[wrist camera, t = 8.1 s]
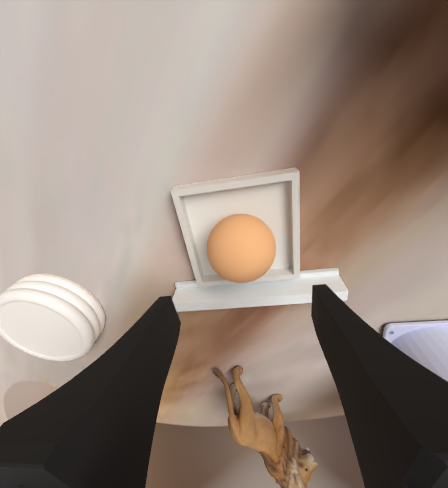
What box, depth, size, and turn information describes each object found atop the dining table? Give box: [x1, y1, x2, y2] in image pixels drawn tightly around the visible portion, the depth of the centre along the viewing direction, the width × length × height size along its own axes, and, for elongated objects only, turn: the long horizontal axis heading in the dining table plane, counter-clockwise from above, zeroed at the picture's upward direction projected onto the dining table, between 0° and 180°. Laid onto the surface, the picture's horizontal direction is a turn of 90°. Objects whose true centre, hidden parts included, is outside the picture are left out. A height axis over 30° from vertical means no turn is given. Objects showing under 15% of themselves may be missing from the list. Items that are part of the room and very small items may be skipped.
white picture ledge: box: [172, 268, 348, 312], centre depth 21 cm, size 2×15×2 cm, turn 100°
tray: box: [171, 168, 300, 287], centre depth 18 cm, size 9×9×1 cm
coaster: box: [0, 274, 105, 361], centre depth 24 cm, size 10×10×4 cm
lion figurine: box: [213, 366, 318, 488], centre depth 27 cm, size 15×5×9 cm, turn 52°
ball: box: [207, 214, 276, 283], centre depth 17 cm, size 5×5×5 cm
